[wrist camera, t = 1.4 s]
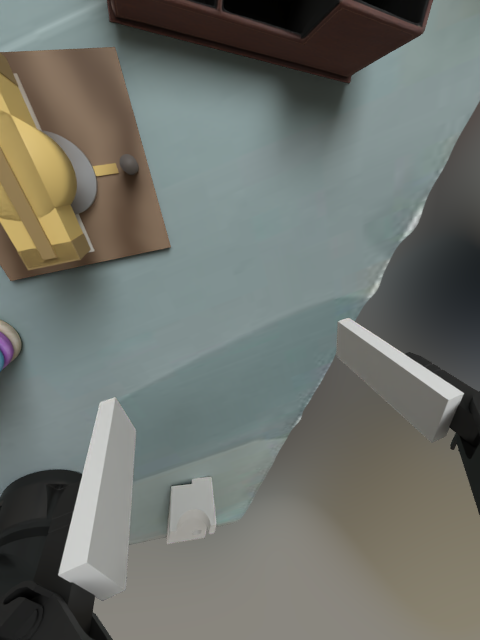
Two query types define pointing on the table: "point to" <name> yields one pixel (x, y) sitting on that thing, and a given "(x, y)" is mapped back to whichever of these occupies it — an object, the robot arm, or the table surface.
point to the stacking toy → (8, 344)
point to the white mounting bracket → (191, 511)
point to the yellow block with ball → (35, 185)
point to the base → (91, 153)
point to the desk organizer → (285, 28)
